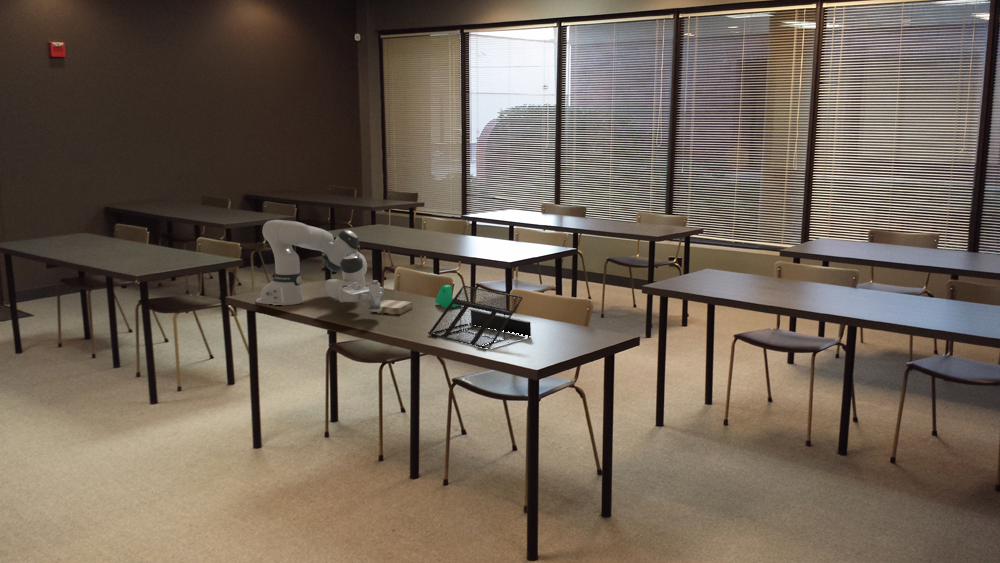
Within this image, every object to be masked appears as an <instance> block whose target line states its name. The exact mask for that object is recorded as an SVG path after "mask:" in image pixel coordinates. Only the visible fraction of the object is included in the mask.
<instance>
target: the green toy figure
mask: <svg viewBox="0 0 1000 563" xmlns="http://www.w3.org/2000/svg"><path fill="white" fill-rule="evenodd" d="M452 293H453V287H452V285H450V284H446V285H442V286H441V287H440V289H439V292H438V294H437V295H436V298H435V304H437V305H440V307H442V308H445V309H446V308H447V307H448V306H449V304H450V303H451V302H452V300H453V299H454V297H453V295H452ZM454 305H455V307H454ZM459 306H460V305H457V306H456V304H453V305H452V306H451V308H452V307H453V308H457V307H459Z"/></svg>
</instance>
